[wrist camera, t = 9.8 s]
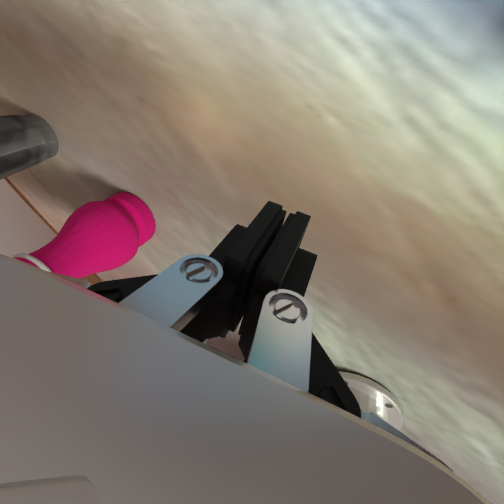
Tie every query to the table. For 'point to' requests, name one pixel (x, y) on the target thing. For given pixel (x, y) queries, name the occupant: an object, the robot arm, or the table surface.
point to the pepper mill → (96, 237)
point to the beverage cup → (24, 142)
